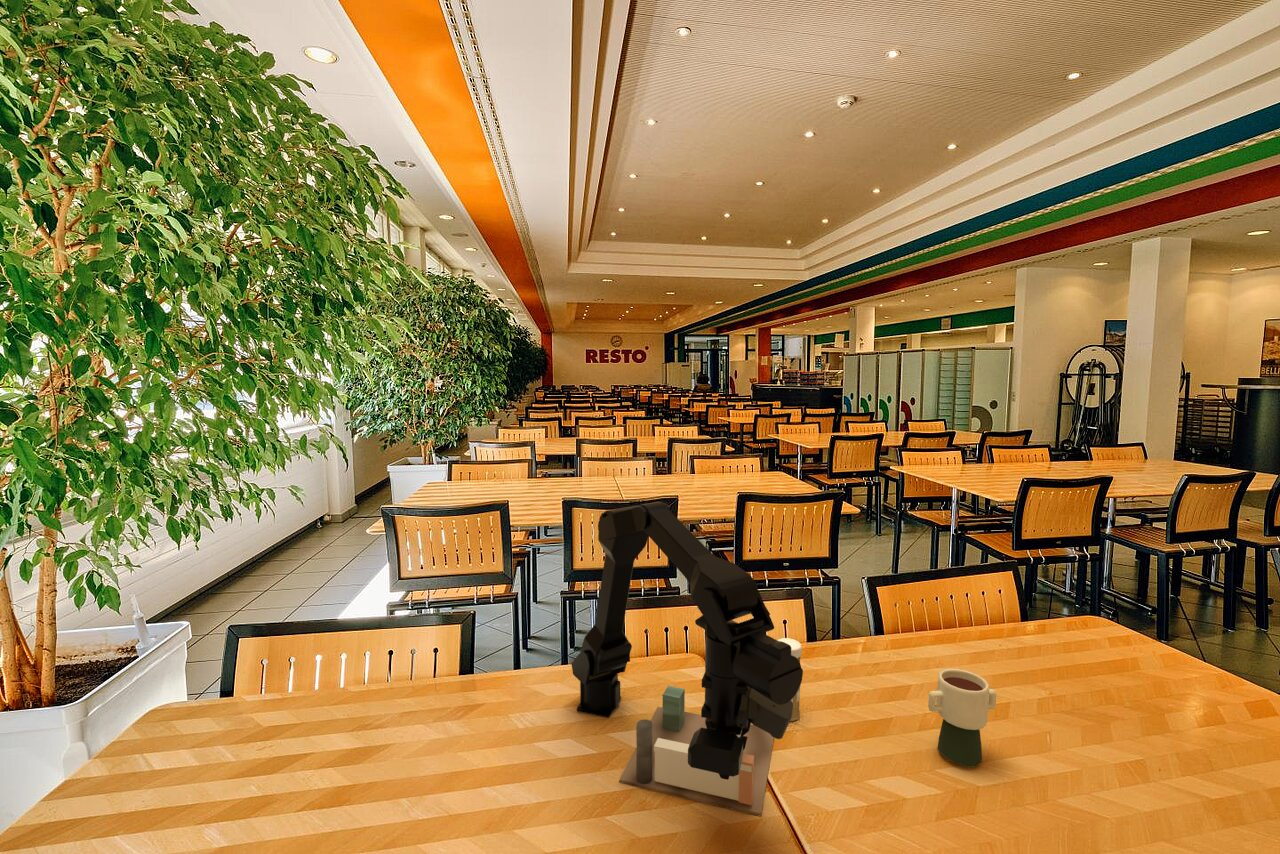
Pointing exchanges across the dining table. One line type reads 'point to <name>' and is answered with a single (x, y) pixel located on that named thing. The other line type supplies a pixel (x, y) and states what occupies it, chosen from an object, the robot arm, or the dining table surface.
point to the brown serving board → (681, 728)
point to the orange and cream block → (701, 773)
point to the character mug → (962, 714)
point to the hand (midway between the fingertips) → (725, 777)
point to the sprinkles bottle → (796, 652)
